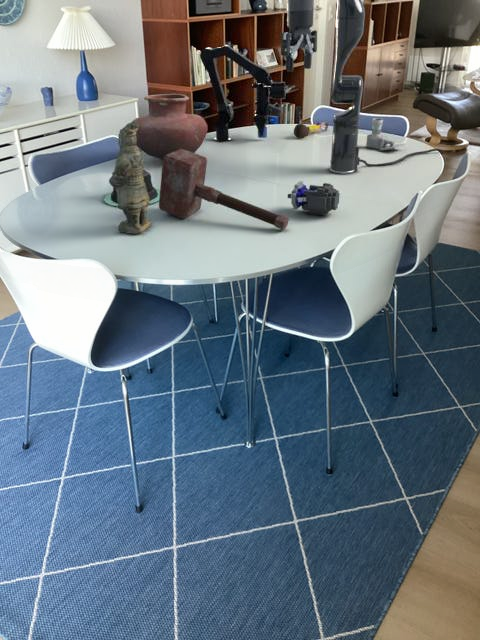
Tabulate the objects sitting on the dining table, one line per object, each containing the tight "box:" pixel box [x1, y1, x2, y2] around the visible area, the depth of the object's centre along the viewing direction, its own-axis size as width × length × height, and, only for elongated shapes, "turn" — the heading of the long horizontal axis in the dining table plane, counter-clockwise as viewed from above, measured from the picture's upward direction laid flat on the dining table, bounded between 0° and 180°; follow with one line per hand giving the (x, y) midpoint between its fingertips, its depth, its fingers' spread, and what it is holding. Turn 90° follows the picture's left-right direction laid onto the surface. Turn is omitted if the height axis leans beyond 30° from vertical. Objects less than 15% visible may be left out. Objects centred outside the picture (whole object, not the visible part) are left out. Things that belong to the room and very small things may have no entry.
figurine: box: [293, 119, 329, 139], centre depth 263 cm, size 13×8×25 cm
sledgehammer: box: [158, 149, 290, 231], centre depth 163 cm, size 17×10×40 cm
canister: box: [257, 126, 268, 139], centre depth 254 cm, size 4×4×4 cm
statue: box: [108, 120, 153, 235], centre depth 154 cm, size 11×9×30 cm
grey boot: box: [365, 117, 406, 152], centre depth 234 cm, size 9×12×15 cm
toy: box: [287, 180, 341, 216], centre depth 168 cm, size 9×9×15 cm
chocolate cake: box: [103, 168, 160, 207], centre depth 186 cm, size 15×19×20 cm
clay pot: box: [131, 93, 209, 161], centre depth 222 cm, size 30×30×25 cm
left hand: (262, 134), depth 255 cm, fingers closed on canister, 4 cm apart
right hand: (298, 70), depth 168 cm, fingers open, 8 cm apart
